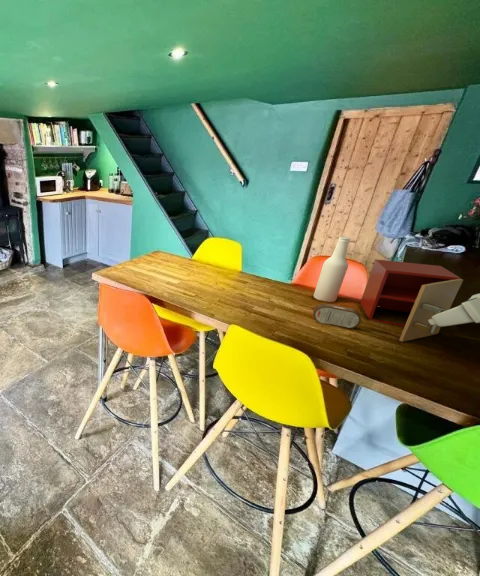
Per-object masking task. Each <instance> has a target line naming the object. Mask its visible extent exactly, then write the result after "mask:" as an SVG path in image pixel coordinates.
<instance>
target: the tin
mask: <svg viewBox="0 0 480 576" xmlns="http://www.w3.org/2000/svg"><path fill="white" fill-rule="evenodd" d="M312 316H313V318H314V321H316V322H317V323H321V324H326V325H328V324H329V325H333V326H339V327H342V328H343V327H344V328H347V329H355V328H357V327H358V326H359V325H360V324H361V322H362V317H361V314H360V312H359V311H358V310H356V309H355V308H352V307H346V306H342V305H338V304H337V305H336V304H332V303H328V302H327V303H320V304H317V305H316V306H314V308H313V310H312Z"/></svg>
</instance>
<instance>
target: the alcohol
mask: <svg viewBox="0 0 480 576" xmlns="http://www.w3.org/2000/svg"><path fill="white" fill-rule="evenodd" d="M350 241H351V237H349V236H339V237H338V240H337V243H336V245H335V247H334V250H333V252H332V255H331V256H329V257H328V258H327V259H325V261H324V262H323V264H322V268H321V271H320V274H319V277H318V280H317V283H316V286H315V290H314V293H313V298H314V299H316V300H318V301H323V302H327V303H328V302H329V303H333V302H336V301H337V299H338V296H339V293H340V291H341V289H342V288H341V287H342V285H343V282H344V279H345V276H346V273H347V271H348V268H349V263H348V260H347V258H346V256H347V252H348V248H349V244H350Z"/></svg>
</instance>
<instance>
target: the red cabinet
mask: <svg viewBox="0 0 480 576" xmlns="http://www.w3.org/2000/svg"><path fill="white" fill-rule="evenodd" d="M367 279H368V280H367V282H366V285H365V287H364V291H363V294H362V297H361V299H360V302H359V305H360V306H362V308H363V310H364V312H365V314H366V316H367V320H369V321H375V322H379V323H385V324H390V325H394V326H395V325H396V326H400V327H405V325H406V324H404V323H399V322H394V321H388V320H383V319H377V318H376V319H375V318H373V316H374V313H375V311H376V308H378V309H385V310H390V311H395V312H401V313H408V314H410V313H411V310H412V308H413V306H414V303H415V301H416V298H417V296H418V294H419V291H420V289H421V287H422V285H425V284H431V283H437V282H443V281H449V280H455V279H461V277H460V276H458V275H456V273H455V274H454V273H453V272H452V271H450V270H449V269H447V268H445V267H443V266H442V265H436V264H435V265H434V264H424V263H415V262H405V261H397V260H396V261H394V260H386V259H385V260H384V259H374V262H373V264H372V267H371V270H370V274H369V277H368V278H367ZM377 306H380V307H377Z"/></svg>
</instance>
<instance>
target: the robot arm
mask: <svg viewBox="0 0 480 576" xmlns="http://www.w3.org/2000/svg"><path fill="white" fill-rule="evenodd" d="M428 321H429V323H430V324H431V325H433V324H436V325H437V326H438V327H441V328H442V327H443V328H444V327H450V326H457V325H463V324H470V323H475V324H480V293H476V294H473V295H471V297H469V298H468V299H467V300H466V301H464V302H461V304H459V305H457V306H454V307H452V308H450V309H449V310H447V311H444V312H441V313H439V314H436V315H434V316H432V319H430V320H428Z"/></svg>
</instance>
